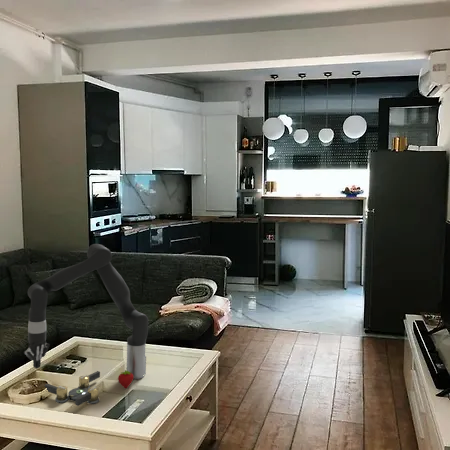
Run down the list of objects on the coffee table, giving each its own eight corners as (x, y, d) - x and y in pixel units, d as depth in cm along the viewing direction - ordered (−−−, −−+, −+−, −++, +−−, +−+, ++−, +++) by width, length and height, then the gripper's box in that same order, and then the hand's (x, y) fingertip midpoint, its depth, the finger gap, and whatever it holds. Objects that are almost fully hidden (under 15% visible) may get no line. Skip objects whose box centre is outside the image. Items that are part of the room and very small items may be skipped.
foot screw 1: (69, 397, 225) (69, 386, 224) (61, 401, 221) (61, 390, 220) (50, 390, 231) (50, 380, 230) (42, 394, 227) (42, 383, 226)
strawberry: (115, 387, 239) (116, 367, 238) (130, 384, 243) (130, 364, 242) (120, 392, 234) (121, 372, 233) (135, 389, 239) (135, 369, 237)
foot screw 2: (92, 395, 228) (92, 385, 227) (100, 398, 226) (100, 387, 225) (72, 406, 217) (73, 395, 216) (80, 409, 215) (80, 398, 214)
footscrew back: (84, 389, 233) (84, 379, 233) (76, 387, 235) (77, 376, 235) (102, 380, 244) (102, 370, 243) (95, 377, 246) (95, 368, 246)
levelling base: (83, 385, 240) (83, 378, 240) (112, 394, 232) (112, 387, 232) (52, 400, 223) (52, 394, 223) (82, 411, 215) (82, 404, 215)
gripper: (31, 335, 211) (30, 374, 213) (54, 327, 222) (54, 364, 225) (18, 332, 214) (18, 370, 216) (43, 324, 226) (42, 360, 228)
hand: (37, 367), depth 220 cm, fingers closed
